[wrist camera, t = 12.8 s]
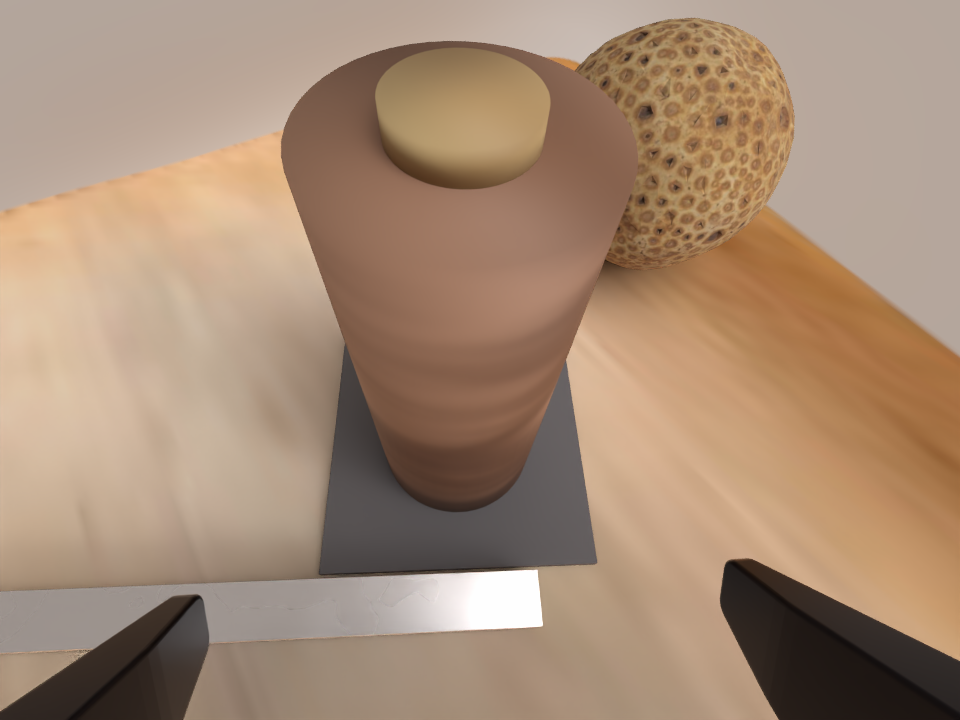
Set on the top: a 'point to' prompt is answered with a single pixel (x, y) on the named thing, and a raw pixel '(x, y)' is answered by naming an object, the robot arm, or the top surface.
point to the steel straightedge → (279, 609)
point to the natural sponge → (694, 134)
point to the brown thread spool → (458, 244)
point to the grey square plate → (453, 535)
